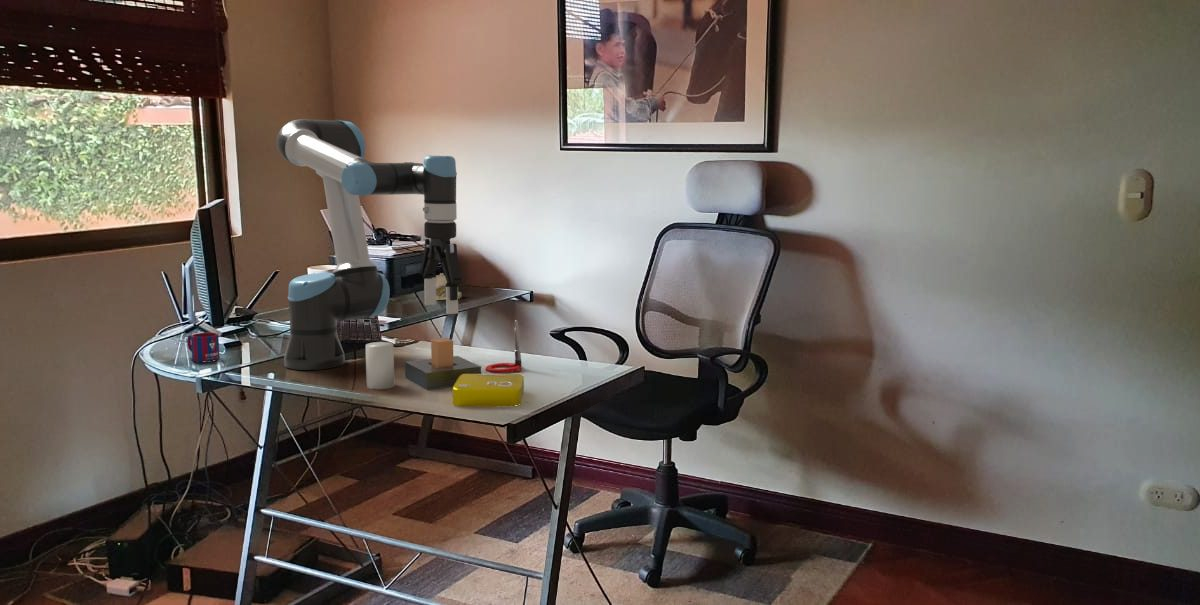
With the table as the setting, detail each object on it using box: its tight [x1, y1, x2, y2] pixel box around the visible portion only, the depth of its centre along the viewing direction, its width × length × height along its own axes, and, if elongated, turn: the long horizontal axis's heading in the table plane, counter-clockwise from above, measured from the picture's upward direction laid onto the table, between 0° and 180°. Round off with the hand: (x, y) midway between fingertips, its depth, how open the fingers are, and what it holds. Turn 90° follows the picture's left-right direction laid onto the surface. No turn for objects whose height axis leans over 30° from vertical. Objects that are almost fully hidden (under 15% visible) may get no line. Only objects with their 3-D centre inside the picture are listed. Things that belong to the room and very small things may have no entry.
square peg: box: [430, 337, 454, 368], centre depth 225 cm, size 4×4×10 cm
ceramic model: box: [435, 272, 463, 300], centre depth 355 cm, size 14×11×10 cm
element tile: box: [451, 372, 525, 408], centre depth 210 cm, size 15×15×5 cm
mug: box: [186, 331, 221, 363], centre depth 246 cm, size 7×10×7 cm
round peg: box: [365, 341, 395, 390], centre depth 219 cm, size 6×6×10 cm
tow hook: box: [484, 319, 522, 374], centre depth 237 cm, size 8×13×9 cm
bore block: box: [404, 355, 482, 390], centre depth 226 cm, size 14×14×4 cm
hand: (440, 309), depth 223 cm, fingers open, 13 cm apart
